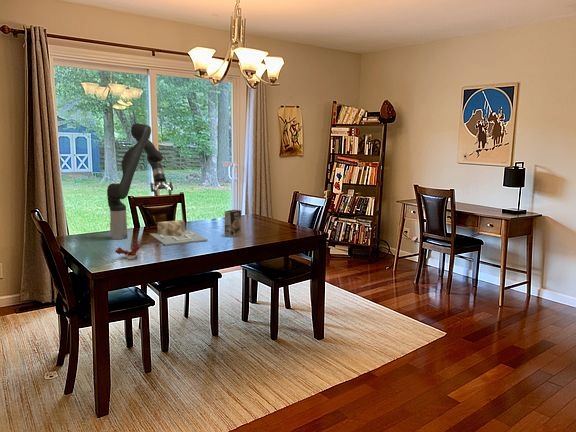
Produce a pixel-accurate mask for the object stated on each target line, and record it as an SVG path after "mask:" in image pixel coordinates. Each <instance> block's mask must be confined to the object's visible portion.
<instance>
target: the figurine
mask: <svg viewBox="0 0 576 432" xmlns="http://www.w3.org/2000/svg"><path fill="white" fill-rule="evenodd" d="M142 247H143V245H141V244H140V243H136V244H135V246H134V247H133V248H132V249H127V248H125V249H123V248H122V247H116V249H115V251H114V253H116V254H118V255H121V254H123V255H124V256H126V259H128V260H129V259H130V260H132V259H134V258H135V259H137V258H138V257H139V255H138V254H137V252H138V251H139V250H140V249H141V248H142Z"/></svg>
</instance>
